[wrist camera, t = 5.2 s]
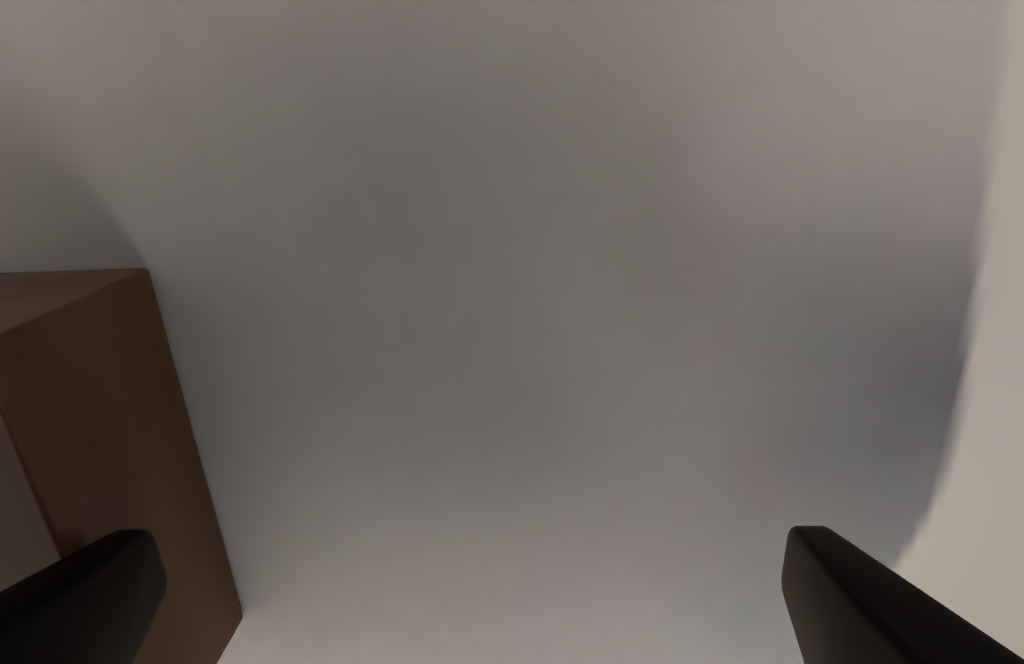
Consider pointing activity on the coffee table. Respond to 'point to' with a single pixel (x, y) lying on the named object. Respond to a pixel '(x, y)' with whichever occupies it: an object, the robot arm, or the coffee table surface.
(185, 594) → the walnut block
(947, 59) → the coffee table surface
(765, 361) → the coffee table surface
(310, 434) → the coffee table surface
